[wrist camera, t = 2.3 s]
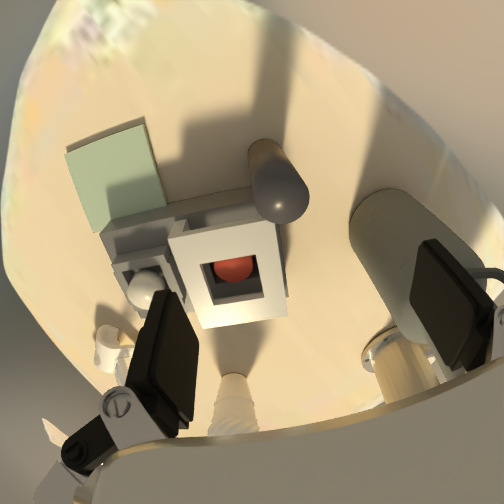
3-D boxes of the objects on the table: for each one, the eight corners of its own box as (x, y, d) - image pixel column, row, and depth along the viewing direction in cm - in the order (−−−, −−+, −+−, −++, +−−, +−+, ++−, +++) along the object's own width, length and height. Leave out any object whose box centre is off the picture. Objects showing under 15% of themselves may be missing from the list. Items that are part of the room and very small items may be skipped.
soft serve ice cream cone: (256, 390, 50) (261, 468, 36) (211, 390, 49) (208, 468, 36) (259, 365, 45) (266, 454, 32) (208, 365, 45) (204, 454, 31)
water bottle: (356, 178, 29) (542, 411, 5) (425, 188, 30) (591, 360, 6) (339, 257, 35) (433, 486, 11) (403, 258, 35) (512, 440, 12)
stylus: (279, 136, 27) (306, 168, 16) (284, 168, 28) (311, 219, 18) (244, 142, 27) (249, 178, 17) (251, 174, 29) (259, 228, 18)
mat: (144, 123, 25) (142, 124, 25) (170, 212, 30) (168, 214, 30) (66, 153, 26) (63, 154, 25) (95, 230, 31) (93, 232, 30)
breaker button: (247, 231, 30) (249, 246, 27) (254, 262, 32) (255, 278, 29) (211, 238, 30) (209, 254, 28) (220, 268, 32) (219, 284, 30)
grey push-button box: (269, 182, 29) (279, 212, 23) (283, 275, 36) (293, 318, 29) (112, 217, 30) (85, 251, 24) (148, 297, 37) (134, 338, 30)
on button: (157, 266, 27) (153, 279, 26) (169, 294, 29) (166, 307, 28) (127, 272, 28) (121, 284, 26) (140, 298, 30) (135, 311, 28)
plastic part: (101, 320, 39) (76, 381, 29) (160, 343, 42) (147, 407, 32) (97, 347, 42) (77, 402, 33) (150, 367, 45) (138, 425, 35)
